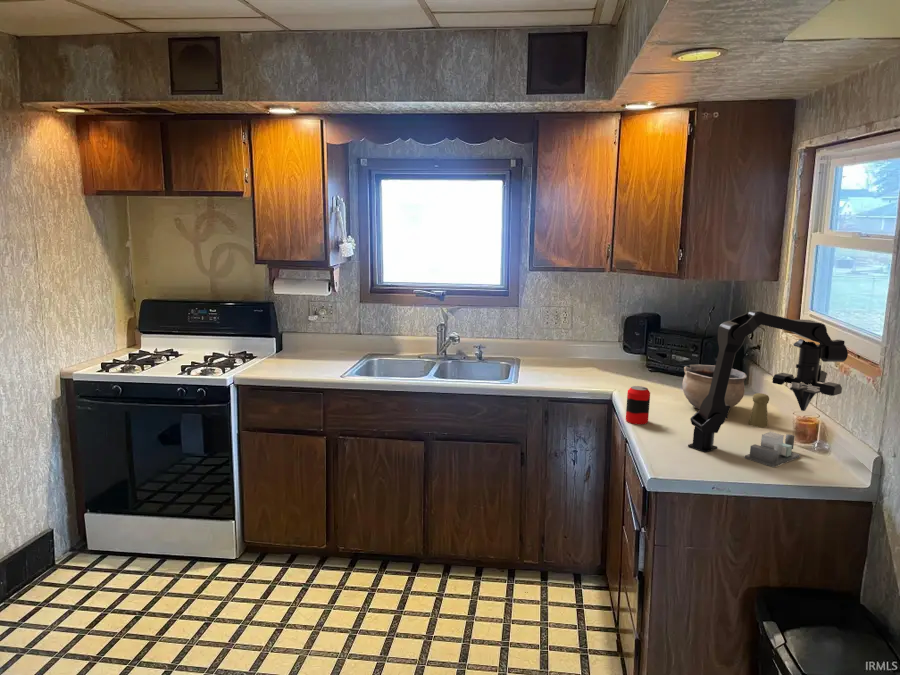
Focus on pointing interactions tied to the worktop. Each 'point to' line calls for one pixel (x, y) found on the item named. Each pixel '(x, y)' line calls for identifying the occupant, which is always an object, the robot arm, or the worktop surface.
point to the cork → (759, 410)
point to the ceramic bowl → (700, 382)
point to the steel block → (773, 442)
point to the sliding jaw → (788, 445)
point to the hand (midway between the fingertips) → (803, 410)
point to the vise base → (768, 456)
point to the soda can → (637, 405)
